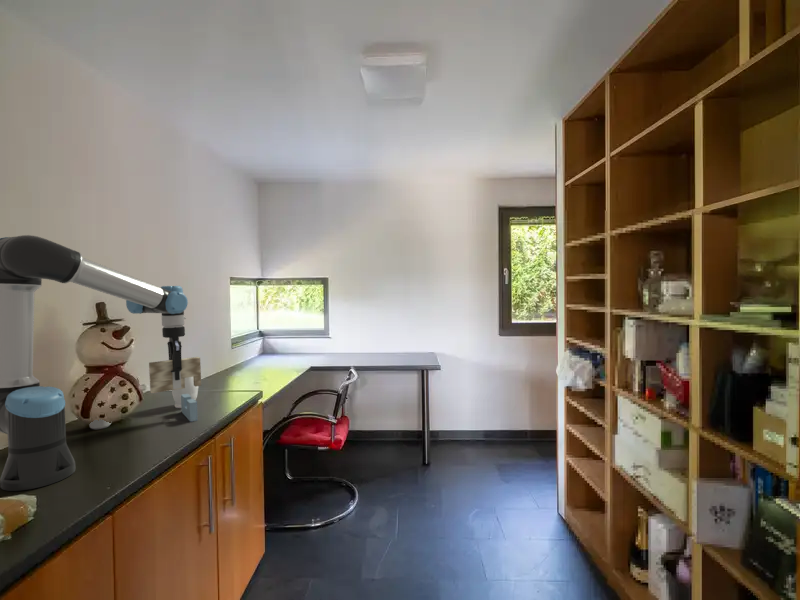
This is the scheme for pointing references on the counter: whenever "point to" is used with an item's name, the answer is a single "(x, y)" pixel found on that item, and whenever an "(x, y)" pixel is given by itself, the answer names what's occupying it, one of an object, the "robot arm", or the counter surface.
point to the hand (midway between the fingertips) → (176, 387)
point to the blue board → (189, 407)
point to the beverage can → (99, 424)
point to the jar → (185, 391)
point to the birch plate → (163, 375)
